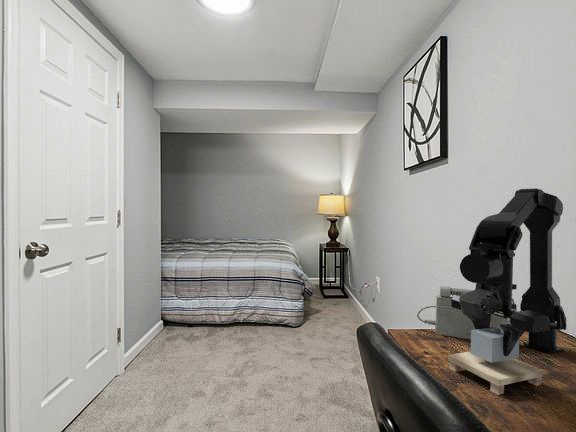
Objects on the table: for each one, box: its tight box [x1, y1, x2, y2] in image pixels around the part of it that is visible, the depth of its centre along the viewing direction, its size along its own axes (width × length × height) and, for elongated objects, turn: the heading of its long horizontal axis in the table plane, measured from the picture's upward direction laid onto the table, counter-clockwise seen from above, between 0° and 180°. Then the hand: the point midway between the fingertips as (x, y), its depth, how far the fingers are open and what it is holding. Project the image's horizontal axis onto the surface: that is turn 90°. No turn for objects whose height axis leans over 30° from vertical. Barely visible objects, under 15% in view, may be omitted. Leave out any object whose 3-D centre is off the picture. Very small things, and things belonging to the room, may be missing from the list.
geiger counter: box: [416, 285, 518, 340], centre depth 96 cm, size 14×6×25 cm
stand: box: [447, 350, 544, 396], centre depth 73 cm, size 13×12×3 cm
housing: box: [470, 327, 520, 363], centre depth 73 cm, size 8×5×6 cm, turn 111°
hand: (494, 350), depth 73 cm, fingers closed on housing, 5 cm apart
